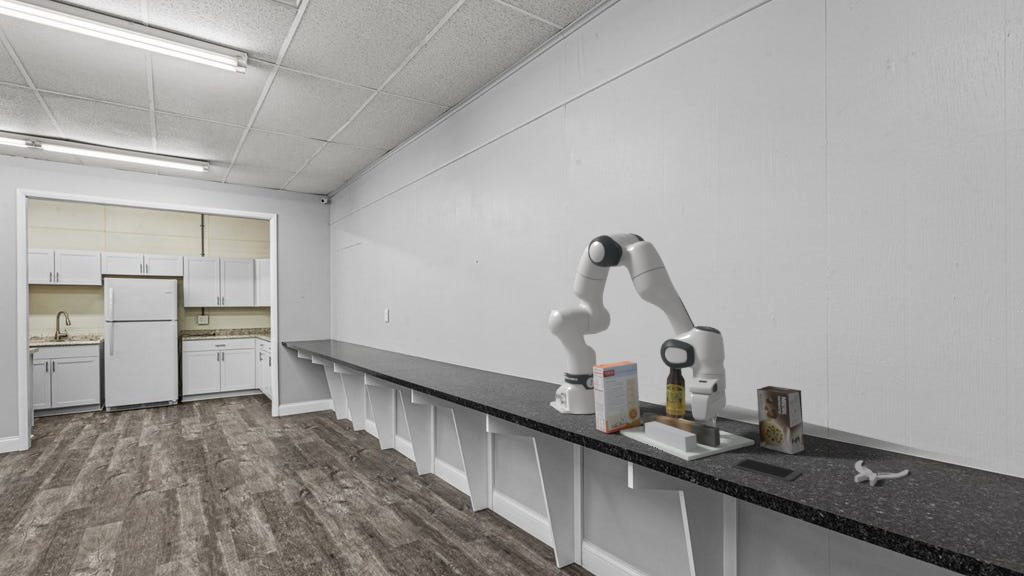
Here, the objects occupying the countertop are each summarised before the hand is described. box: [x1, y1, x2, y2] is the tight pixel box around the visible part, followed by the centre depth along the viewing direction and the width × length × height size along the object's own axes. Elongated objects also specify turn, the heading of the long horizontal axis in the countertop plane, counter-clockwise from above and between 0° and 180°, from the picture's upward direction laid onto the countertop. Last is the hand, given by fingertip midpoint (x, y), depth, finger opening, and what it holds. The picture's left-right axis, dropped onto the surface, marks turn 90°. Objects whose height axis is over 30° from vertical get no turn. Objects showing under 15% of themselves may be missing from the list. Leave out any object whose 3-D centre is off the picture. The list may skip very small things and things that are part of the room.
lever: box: [642, 412, 720, 447], centre depth 142 cm, size 24×4×4 cm, turn 36°
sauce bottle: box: [665, 367, 686, 419], centre depth 166 cm, size 6×6×20 cm
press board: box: [619, 418, 755, 462], centre depth 143 cm, size 28×25×5 cm
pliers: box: [854, 459, 909, 487], centre depth 112 cm, size 10×2×15 cm
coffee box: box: [756, 385, 805, 455], centre depth 132 cm, size 9×6×16 cm
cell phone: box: [731, 457, 803, 483], centre depth 117 cm, size 7×14×1 cm, turn 39°
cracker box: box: [593, 361, 641, 434], centre depth 156 cm, size 14×6×21 cm, turn 117°
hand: (711, 429), depth 142 cm, fingers closed
